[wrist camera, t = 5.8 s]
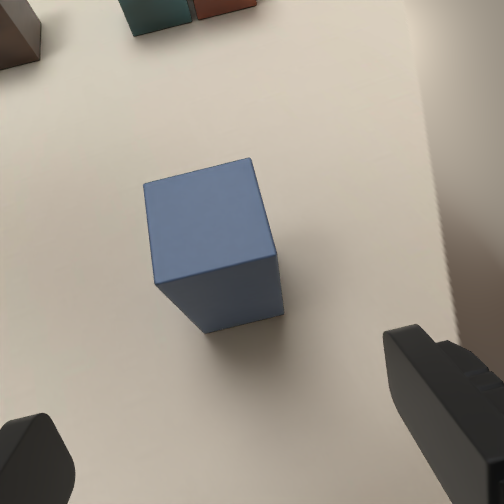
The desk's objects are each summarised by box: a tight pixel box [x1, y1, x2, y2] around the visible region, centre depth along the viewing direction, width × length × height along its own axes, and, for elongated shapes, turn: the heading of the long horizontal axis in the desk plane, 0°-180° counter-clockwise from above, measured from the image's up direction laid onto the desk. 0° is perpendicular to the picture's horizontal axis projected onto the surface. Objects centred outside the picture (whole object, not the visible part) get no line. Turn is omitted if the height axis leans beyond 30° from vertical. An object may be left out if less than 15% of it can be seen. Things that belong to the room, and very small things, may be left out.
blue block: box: [143, 158, 284, 334], centre depth 18 cm, size 4×4×8 cm
